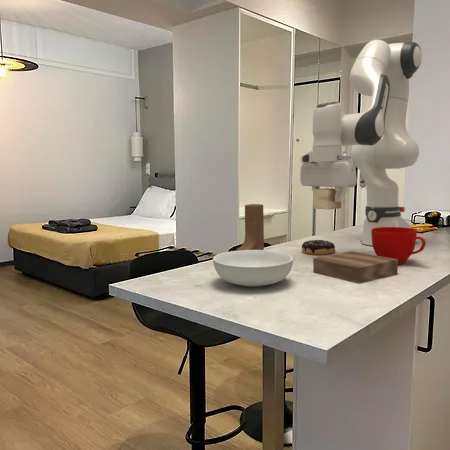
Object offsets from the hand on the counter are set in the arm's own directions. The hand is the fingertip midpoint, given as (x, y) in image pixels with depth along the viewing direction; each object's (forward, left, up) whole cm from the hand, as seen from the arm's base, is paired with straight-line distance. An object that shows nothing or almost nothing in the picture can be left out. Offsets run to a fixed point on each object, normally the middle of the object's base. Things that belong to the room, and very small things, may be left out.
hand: (327, 201), depth 139 cm
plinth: (+6, +16, -19) cm, 25 cm away
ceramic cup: (-14, +16, -19) cm, 28 cm away
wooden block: (+18, -16, -19) cm, 31 cm away
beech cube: (0, 0, -2) cm, 2 cm away
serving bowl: (+34, +6, -19) cm, 39 cm away
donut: (-9, -12, -19) cm, 24 cm away
